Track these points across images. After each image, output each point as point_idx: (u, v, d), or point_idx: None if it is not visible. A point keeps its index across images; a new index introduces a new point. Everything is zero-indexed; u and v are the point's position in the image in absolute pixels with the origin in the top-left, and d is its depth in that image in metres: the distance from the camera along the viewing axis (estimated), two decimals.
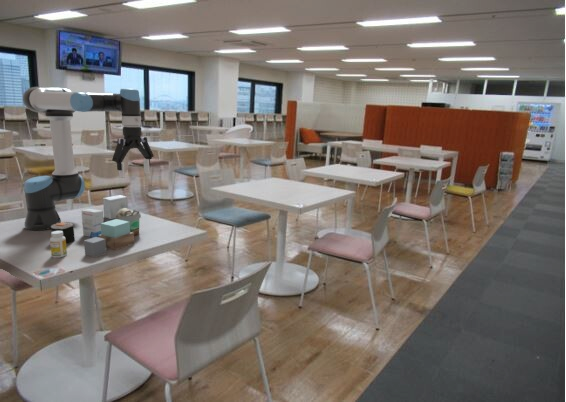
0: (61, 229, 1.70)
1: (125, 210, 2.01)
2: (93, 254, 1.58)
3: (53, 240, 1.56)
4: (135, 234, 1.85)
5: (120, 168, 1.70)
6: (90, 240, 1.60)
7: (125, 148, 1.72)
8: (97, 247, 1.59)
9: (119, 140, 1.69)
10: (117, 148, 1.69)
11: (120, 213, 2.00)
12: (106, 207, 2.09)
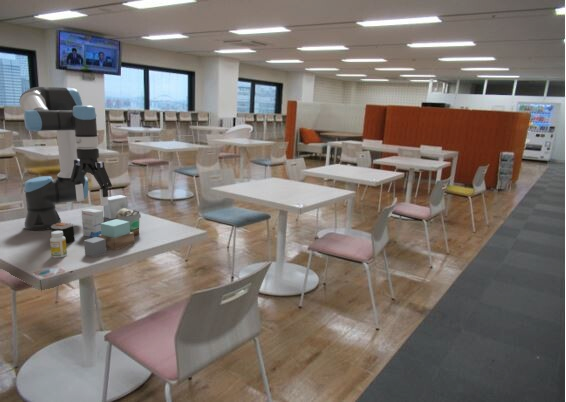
0: (61, 229, 1.70)
1: (125, 210, 2.00)
2: (93, 254, 1.58)
3: (53, 240, 1.56)
4: (135, 234, 1.85)
5: (76, 190, 1.59)
6: (90, 240, 1.60)
7: None
8: (97, 247, 1.59)
9: None
10: None
11: (120, 213, 2.00)
12: (106, 207, 2.09)
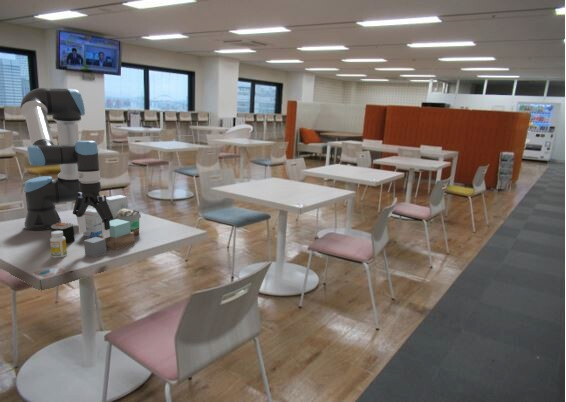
0: (61, 229, 1.70)
1: (125, 210, 2.00)
2: (93, 254, 1.58)
3: (53, 240, 1.56)
4: (135, 234, 1.85)
5: None
6: (90, 240, 1.60)
7: None
8: (97, 247, 1.59)
9: None
10: None
11: (120, 213, 1.99)
12: None
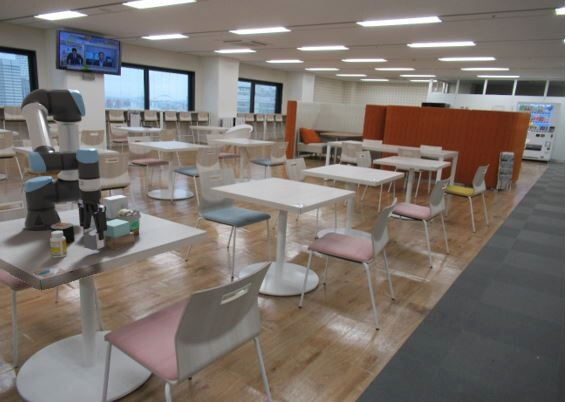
0: (61, 229, 1.70)
1: (125, 211, 1.99)
2: (92, 246, 1.58)
3: (53, 240, 1.56)
4: (135, 234, 1.85)
5: None
6: (89, 232, 1.60)
7: None
8: None
9: None
10: None
11: (120, 214, 1.99)
12: (106, 207, 2.09)
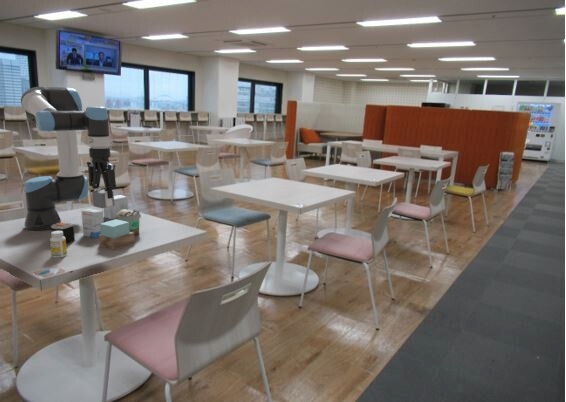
0: (61, 229, 1.70)
1: (125, 211, 1.99)
2: (101, 204, 1.60)
3: (53, 240, 1.56)
4: (135, 234, 1.85)
5: None
6: (98, 191, 1.62)
7: None
8: None
9: None
10: None
11: (120, 214, 1.98)
12: (106, 207, 2.09)
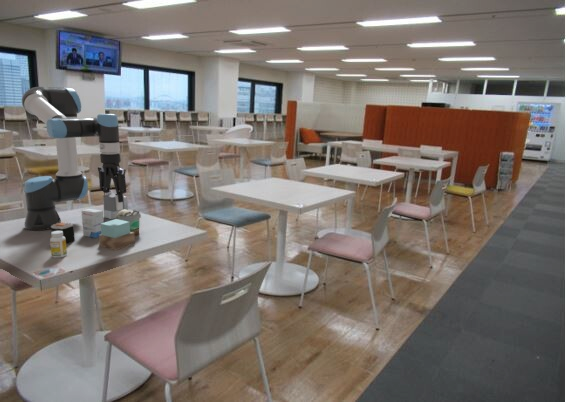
0: (61, 229, 1.70)
1: (125, 211, 1.98)
2: (112, 208, 1.66)
3: (53, 240, 1.56)
4: (135, 234, 1.85)
5: None
6: (109, 195, 1.68)
7: None
8: None
9: None
10: None
11: (120, 214, 1.98)
12: None
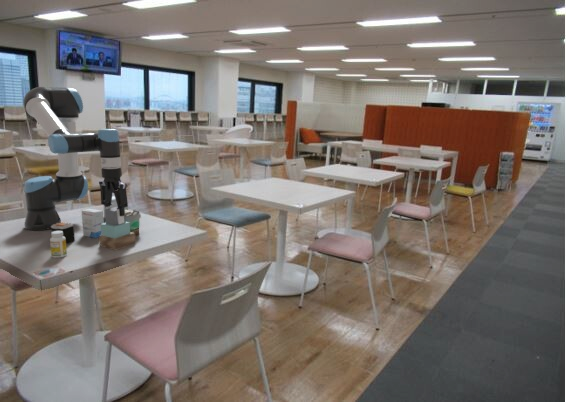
0: (61, 229, 1.70)
1: (125, 211, 1.98)
2: (114, 222, 1.67)
3: (53, 240, 1.56)
4: (135, 234, 1.85)
5: None
6: (111, 209, 1.69)
7: None
8: None
9: None
10: None
11: None
12: None
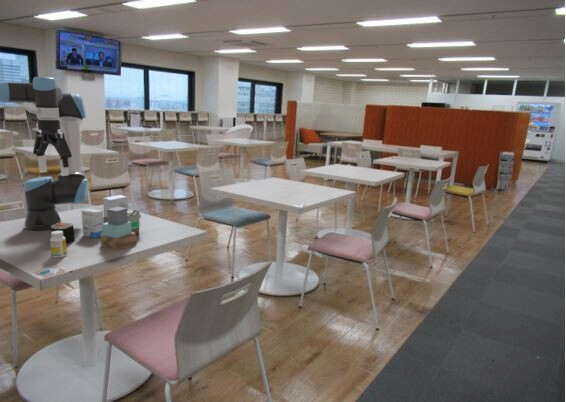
0: (61, 229, 1.70)
1: None
2: (116, 221, 1.68)
3: (53, 240, 1.56)
4: None
5: None
6: (113, 209, 1.69)
7: None
8: (120, 216, 1.69)
9: None
10: None
11: None
12: (106, 207, 2.09)
